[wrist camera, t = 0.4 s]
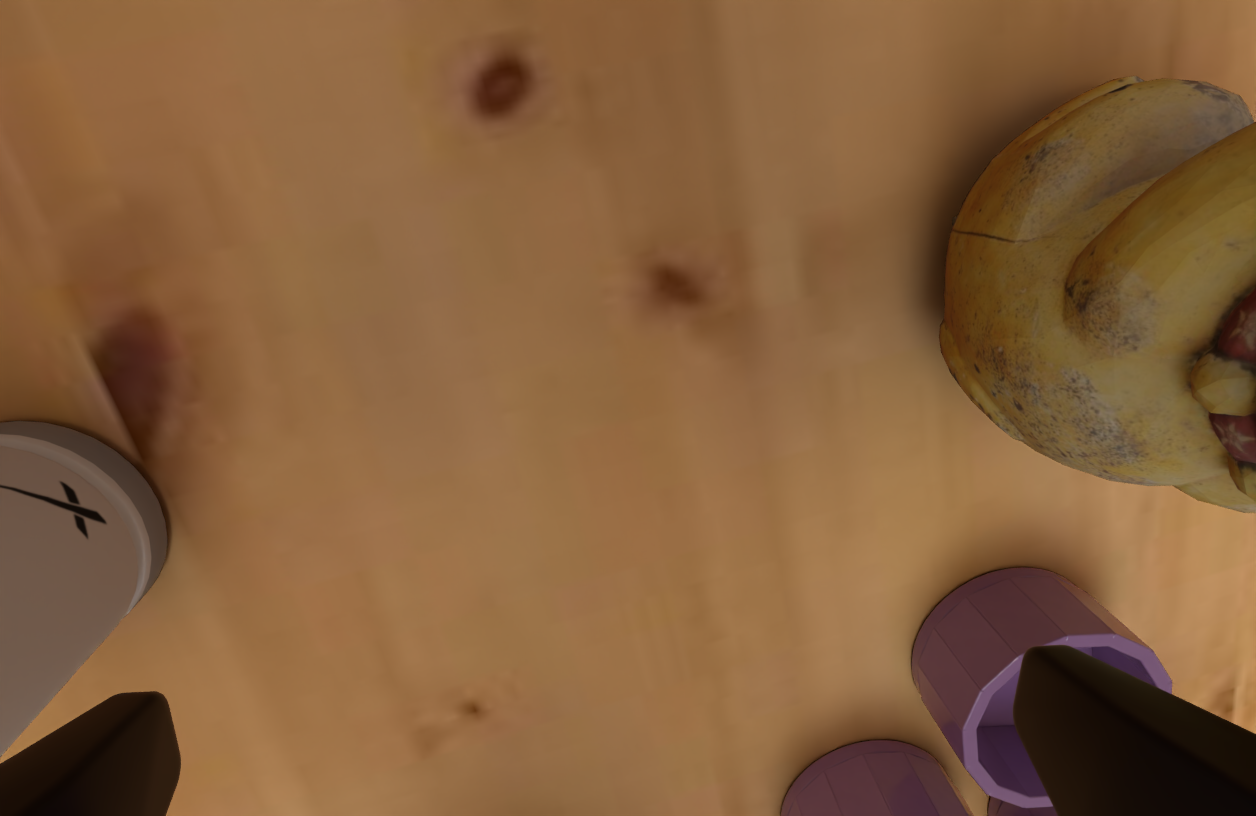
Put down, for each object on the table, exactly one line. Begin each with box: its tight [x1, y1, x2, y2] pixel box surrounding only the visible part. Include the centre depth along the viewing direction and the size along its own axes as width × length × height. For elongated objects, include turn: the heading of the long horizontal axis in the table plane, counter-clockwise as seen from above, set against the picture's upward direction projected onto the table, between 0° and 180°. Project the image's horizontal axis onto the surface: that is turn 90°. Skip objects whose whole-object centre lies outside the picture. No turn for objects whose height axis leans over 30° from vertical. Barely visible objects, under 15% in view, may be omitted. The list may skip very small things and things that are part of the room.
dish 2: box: [912, 567, 1172, 808], centre depth 24 cm, size 6×6×4 cm
